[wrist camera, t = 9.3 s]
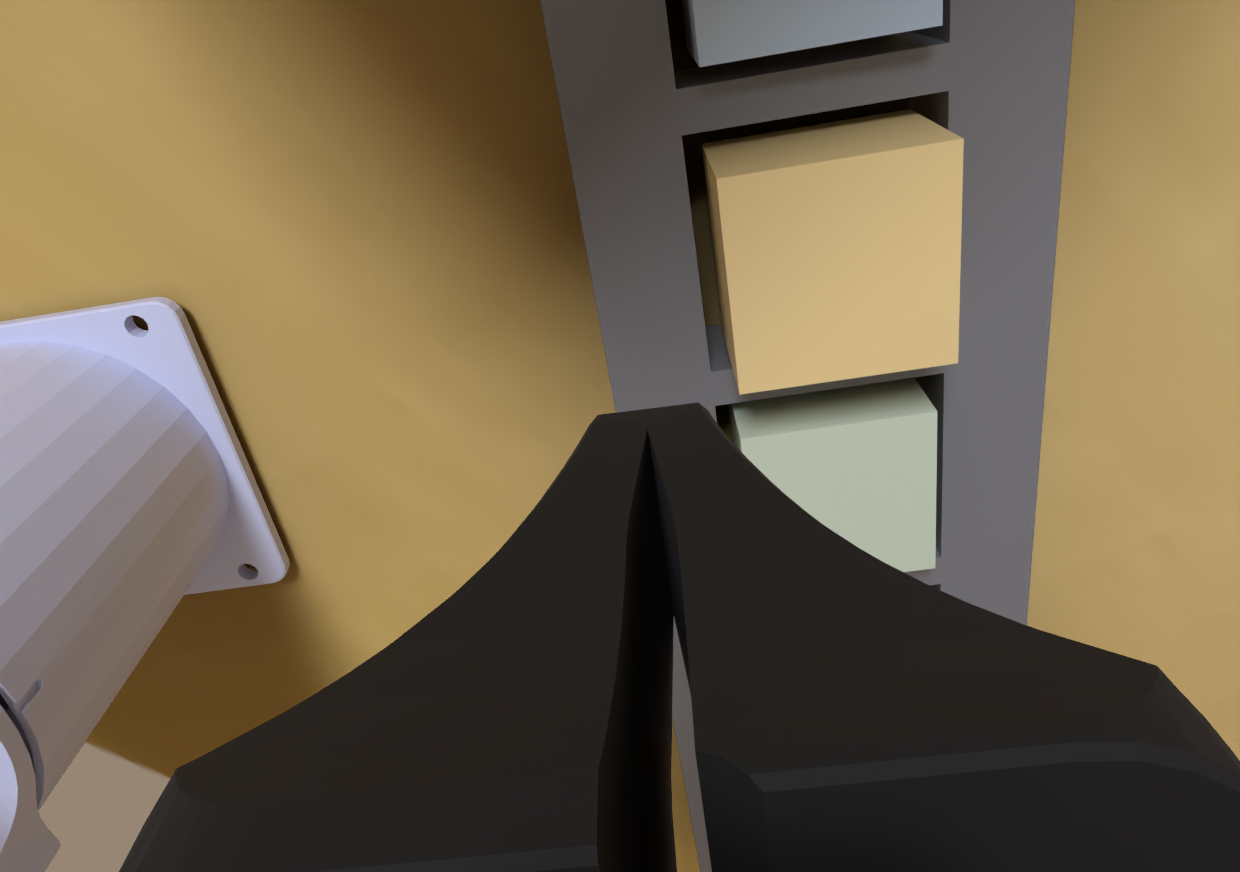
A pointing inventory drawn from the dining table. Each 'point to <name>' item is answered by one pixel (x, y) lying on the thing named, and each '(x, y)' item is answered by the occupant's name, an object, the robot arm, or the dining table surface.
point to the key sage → (853, 463)
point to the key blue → (795, 24)
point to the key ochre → (837, 249)
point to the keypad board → (990, 244)
